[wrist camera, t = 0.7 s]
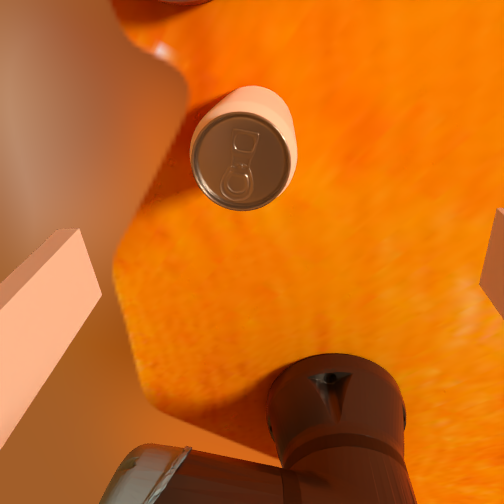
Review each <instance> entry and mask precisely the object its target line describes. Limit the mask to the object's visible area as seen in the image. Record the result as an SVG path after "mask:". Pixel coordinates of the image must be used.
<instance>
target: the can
mask: <svg viewBox="0 0 504 504" xmlns="http://www.w3.org/2000/svg"><path fill="white" fill-rule="evenodd" d="M190 162H191V167H192V171H193V175H194V178H195V180H196V182H197V184H198V186H199V188H200V189H201V191H202V192H203V193H204V194H205V195H206V196H207V197H208V198H209V199H210V200H211V201H213V202H214V203H216V204H218V205H219V206H221V207H224V208H227V209H230V210H235V211H250V210H255V209H258V208H261V207H263V206H265V205H267V204H269V203H270V202H272V201H273V200H274V199H275V198H276V197H278V196H279V195H280V194H281V193H282V192H283V191H284V190H285V189H286V187H287V186H288V184H289V183H290V181H291V179H292V177H293V174H294V171H295V168H296V163H297V145H296V138H295V132H294V126H293V121H292V117H291V114H290V111H289V109H288V107H287V105H286V104H285V102H284V101H283V100H282V99H281V98H280V97H279V96H278V95H277V94H276V93H274V92H273V91H271V90H269V89H267V88H264V87H260V86H245V87H241V88H239V89H236V90H234V91H233V92H231V93H229V94H228V95H227V96H226V97H224V98H223V99H222V100H221V101H220V102H219V103H217V104H216V105H215V106H214V107H213V108H212V109H211V110H210V111H209V112H208V113H207V114H206V115H205V116H204V117H203V118H202V119H201V121H200V122H199V124H198V125H197V127H196V129H195V131H194V134H193V136H192V140H191V144H190Z"/></svg>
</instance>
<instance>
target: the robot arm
mask: <svg viewBox="0 0 504 504" xmlns="http://www.w3.org/2000/svg"><path fill="white" fill-rule="evenodd" d="M479 285H480V286H481V288H482V289H483V290H484V292H485V293H486V295H487V296H488V298H489V299H490V300H491V302H492V303H493V305H494V306H495V308H496V309H497V311H498V312H499V313H500V315H501V316H502V318H503V319H504V208H497V210H496V214H495V219H494V223H493V227H492V231H491V236H490V240H489V244H488V249H487V253H486V257H485V262H484V266H483V270H482V274H481V279H480V283H479ZM101 296H102V294H101V291H100V288H99V285H98V282H97V279H96V276H95V273H94V270H93V267H92V264H91V261H90V258H89V256H88V253H87V250H86V247H85V244H84V241H83V238H82V235H81V232H80V229H79V228H72V229H57V230H56V231H55V232H54V233H53V234H52V235H51V236H50V237H49V238H48V239H47V240H46V241H45V242H44V243H42V245H40V246H39V247H38V248H37V249H36V250H35V251H34V252H33V253H32V254H31V255H30V256H29V257H28V258H27V259H26V260H25V261H23V262H22V263H21V264H20V265H19V266H18V267H17V268H16V269H15V270H14V271H13V272H12V273H11V274H10V275H9V276H8V277H7V278H6V279H4V280H3V281H2V282H1V283H0V450H1V448H2V447H3V445H4V444H5V442H6V440H7V439H8V438H9V436H10V434H11V433H12V431H13V430H14V428H15V427H16V425H17V424H18V422H19V421H20V419H21V418H22V416H23V415H24V413H25V412H26V410H27V409H28V407H29V406H30V404H31V403H32V401H33V399H34V398H35V396H36V395H37V393H38V392H39V390H40V389H41V387H42V386H43V384H44V383H45V381H46V380H47V378H48V377H49V375H50V373H51V372H52V370H53V369H54V367H55V366H56V364H57V363H58V361H59V360H60V358H61V357H62V355H63V354H64V352H65V351H66V349H67V348H68V346H69V344H70V343H71V341H72V340H73V338H74V337H75V335H76V334H77V332H78V331H79V329H80V328H81V326H82V325H83V323H84V321H85V320H86V319H87V317H88V315H89V314H90V312H91V311H92V309H93V308H94V306H95V305H96V303H97V302H98V300H99V299H100V297H101ZM267 424H268V428H269V431H270V434H271V436H272V438H273V440H274V442H275V443H276V449H277V453H278V456H279V459H280V462H281V465H282V468H279V467H275V466H270V465H265V464H260V463H255V462H251V461H246V460H240V459H235V458H230V457H225V456H221V455H216V454H211V453H206V452H201V451H196V450H192V447H188V446H186V447H185V448H179V447H172V446H165V445H158V444H144V445H141V446H138V447H137V448H135V449H134V450H132V451H131V452H130V453H129V454H128V455H127V456H126V458H125V459H124V460H123V462H122V463H121V464H120V466H119V467H118V469H117V470H116V472H115V474H114V476H113V478H112V479H111V481H110V483H109V485H108V487H107V488H106V491H105V492H104V494H103V496H102V498H101V500H100V502H99V504H417V501H416V498H415V495H414V491H413V488H412V485H411V482H410V479H409V475H408V472H407V469H406V465H405V462H404V430H405V426H406V409H405V404H404V401H403V398H402V395H401V392H400V390H399V387H398V385H397V383H396V381H395V380H394V378H393V377H392V376H391V375H390V374H389V373H388V372H387V371H386V370H385V369H383V368H382V367H381V366H379V365H377V364H376V363H374V362H372V361H369V360H367V359H364V358H361V357H357V356H353V355H346V354H325V355H319V356H314V357H310V358H307V359H304V360H302V361H299V362H297V363H295V364H294V365H292V366H290V367H289V368H287V369H286V370H285V371H283V372H282V373H281V374H280V375H279V376H278V377H277V379H276V380H275V381H274V383H273V384H272V386H271V388H270V391H269V394H268V398H267Z"/></svg>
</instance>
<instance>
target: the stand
mask: <svg viewBox="0 0 504 504" xmlns="http://www.w3.org/2000/svg"><path fill="white" fill-rule="evenodd" d="M157 1H160V2H163V3H168V4H174V5H195V4H202V3H205V2H209V1H212V0H157Z"/></svg>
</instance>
